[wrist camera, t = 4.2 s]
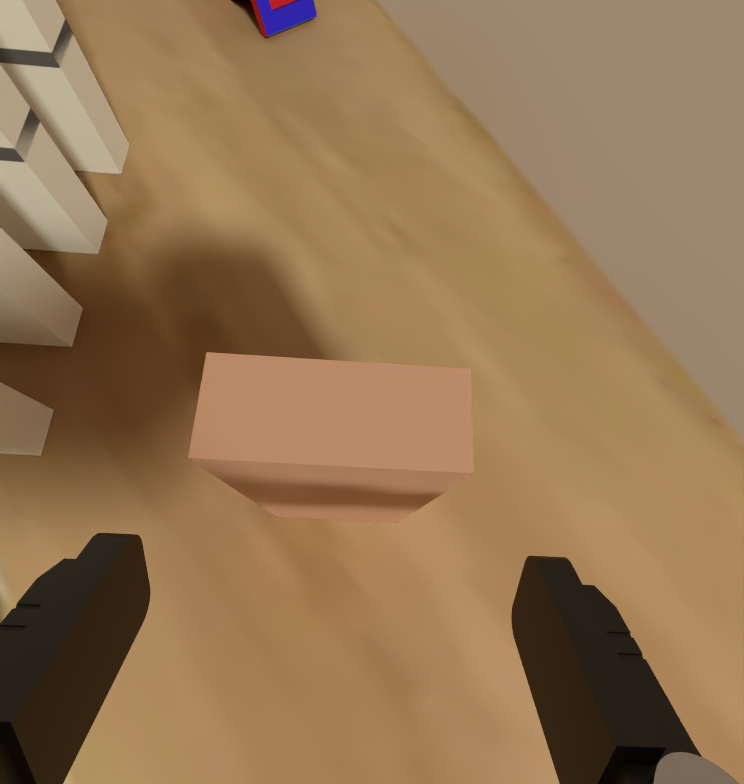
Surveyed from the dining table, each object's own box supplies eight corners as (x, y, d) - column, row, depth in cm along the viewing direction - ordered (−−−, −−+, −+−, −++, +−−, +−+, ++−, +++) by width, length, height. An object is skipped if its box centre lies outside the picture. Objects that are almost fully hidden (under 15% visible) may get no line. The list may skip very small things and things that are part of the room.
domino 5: (22, 167, 24) (-249, -169, 13) (34, 136, 25) (-214, -207, 14) (120, 174, 25) (-64, -150, 13) (129, 144, 25) (-40, -188, 14)
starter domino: (276, 516, 19) (187, 458, 8) (281, 468, 20) (206, 352, 9) (397, 522, 20) (474, 473, 8) (398, 475, 20) (470, 369, 9)
